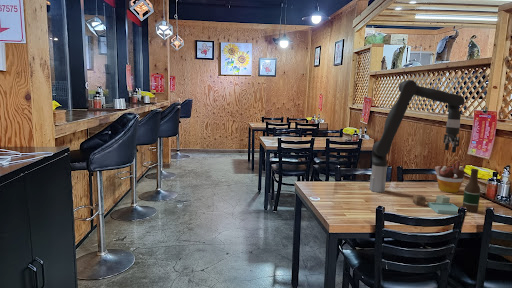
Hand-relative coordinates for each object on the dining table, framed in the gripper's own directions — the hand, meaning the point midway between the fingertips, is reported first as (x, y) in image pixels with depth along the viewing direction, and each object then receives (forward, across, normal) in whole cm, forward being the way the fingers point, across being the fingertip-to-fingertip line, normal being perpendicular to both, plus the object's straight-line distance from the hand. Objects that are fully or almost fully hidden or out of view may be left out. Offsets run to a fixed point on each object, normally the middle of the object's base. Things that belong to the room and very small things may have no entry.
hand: (450, 151), depth 225 cm
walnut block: (+29, +24, -28) cm, 47 cm away
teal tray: (+29, +33, -17) cm, 47 cm away
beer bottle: (+29, +33, -3) cm, 44 cm away
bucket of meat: (+29, -8, +7) cm, 31 cm away
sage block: (+29, +23, -14) cm, 39 cm away
